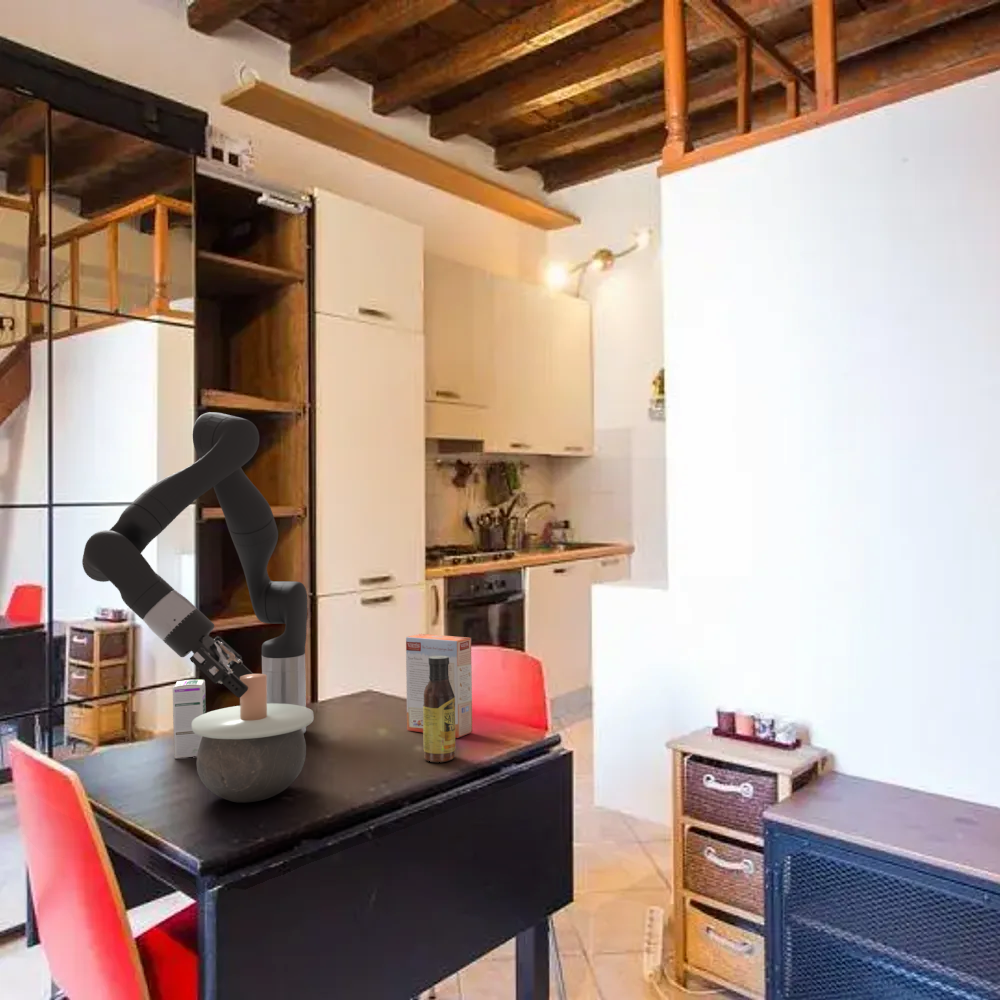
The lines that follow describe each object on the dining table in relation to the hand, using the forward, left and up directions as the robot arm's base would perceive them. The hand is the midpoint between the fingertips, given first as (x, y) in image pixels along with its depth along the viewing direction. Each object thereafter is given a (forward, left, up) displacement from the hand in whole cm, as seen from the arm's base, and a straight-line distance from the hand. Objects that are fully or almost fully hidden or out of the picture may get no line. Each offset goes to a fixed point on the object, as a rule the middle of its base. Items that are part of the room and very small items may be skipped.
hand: (248, 688), depth 144 cm
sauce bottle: (+10, +35, -19) cm, 41 cm away
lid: (+1, +1, -6) cm, 6 cm away
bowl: (0, 0, -19) cm, 19 cm away
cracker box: (-4, +49, -19) cm, 53 cm away
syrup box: (-32, +6, -19) cm, 37 cm away
